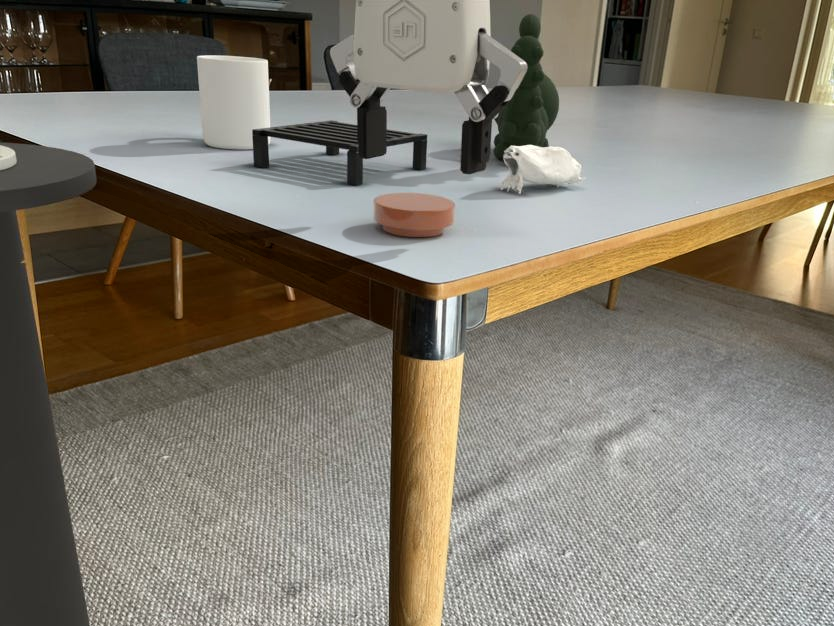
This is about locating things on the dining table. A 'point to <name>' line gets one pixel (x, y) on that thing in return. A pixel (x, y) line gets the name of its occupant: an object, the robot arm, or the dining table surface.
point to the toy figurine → (528, 97)
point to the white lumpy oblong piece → (540, 166)
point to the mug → (233, 99)
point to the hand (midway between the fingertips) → (421, 164)
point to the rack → (335, 143)
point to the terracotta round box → (414, 214)
